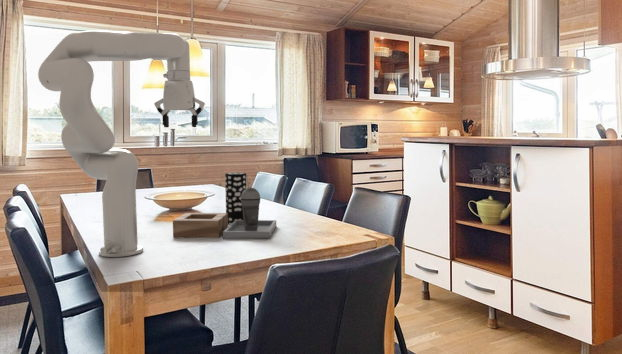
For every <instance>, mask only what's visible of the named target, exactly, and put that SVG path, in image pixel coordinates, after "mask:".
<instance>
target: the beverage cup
mask: <svg viewBox="0 0 622 354" xmlns="http://www.w3.org/2000/svg"><path fill="white" fill-rule="evenodd" d="M246 185H247V187H246V189H245V190H244V191H243V192H242V195H241V203H242V209H243V219H244V227H245V231H257V227H258V220H259V215H260V214H259V213H260V203H261V194H260V193H259V191H258V189H256V188H254V187H250V183H249V176H248V175H246Z"/></svg>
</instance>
